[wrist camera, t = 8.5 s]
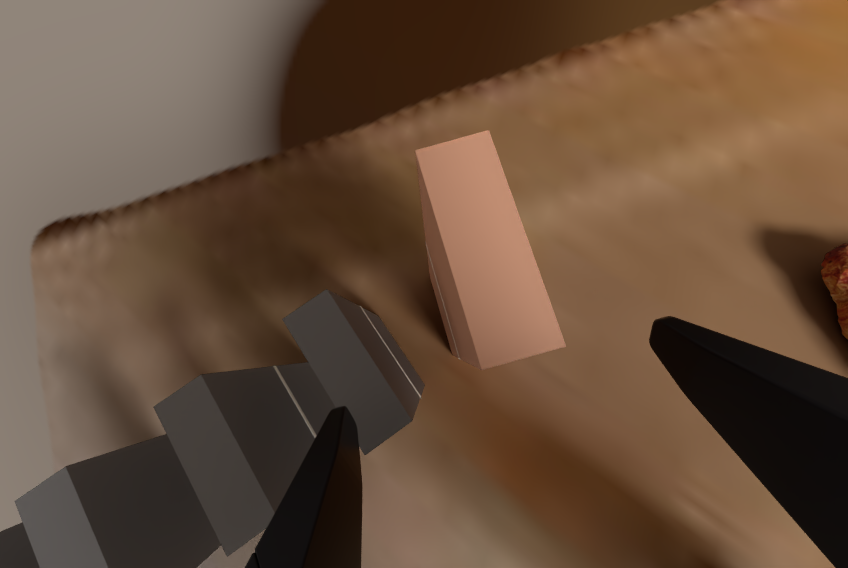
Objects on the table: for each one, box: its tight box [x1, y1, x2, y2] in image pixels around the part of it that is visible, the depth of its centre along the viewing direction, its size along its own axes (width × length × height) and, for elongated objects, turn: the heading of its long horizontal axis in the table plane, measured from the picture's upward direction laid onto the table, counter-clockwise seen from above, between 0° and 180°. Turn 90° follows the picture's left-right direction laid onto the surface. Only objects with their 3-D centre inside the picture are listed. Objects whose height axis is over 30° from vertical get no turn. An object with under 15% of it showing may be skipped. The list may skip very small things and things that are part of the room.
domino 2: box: [154, 362, 336, 556], centre depth 15 cm, size 5×2×10 cm, turn 35°
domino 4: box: [415, 130, 566, 370], centre depth 14 cm, size 5×2×14 cm, turn 15°
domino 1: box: [15, 434, 221, 568], centre depth 15 cm, size 5×2×10 cm, turn 35°
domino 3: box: [282, 289, 425, 455], centre depth 16 cm, size 5×2×10 cm, turn 35°
